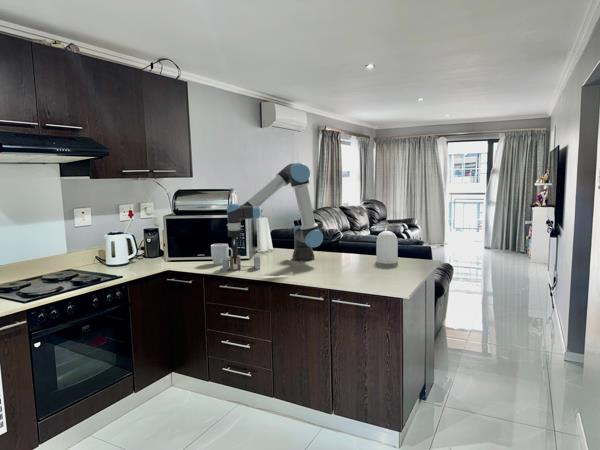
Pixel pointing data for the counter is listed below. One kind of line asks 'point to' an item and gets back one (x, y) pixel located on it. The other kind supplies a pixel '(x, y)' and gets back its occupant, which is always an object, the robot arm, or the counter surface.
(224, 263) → the fixed jaw
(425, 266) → the counter surface
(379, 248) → the container
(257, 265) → the free jaw
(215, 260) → the mug
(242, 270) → the vise base
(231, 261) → the block
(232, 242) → the robot arm
